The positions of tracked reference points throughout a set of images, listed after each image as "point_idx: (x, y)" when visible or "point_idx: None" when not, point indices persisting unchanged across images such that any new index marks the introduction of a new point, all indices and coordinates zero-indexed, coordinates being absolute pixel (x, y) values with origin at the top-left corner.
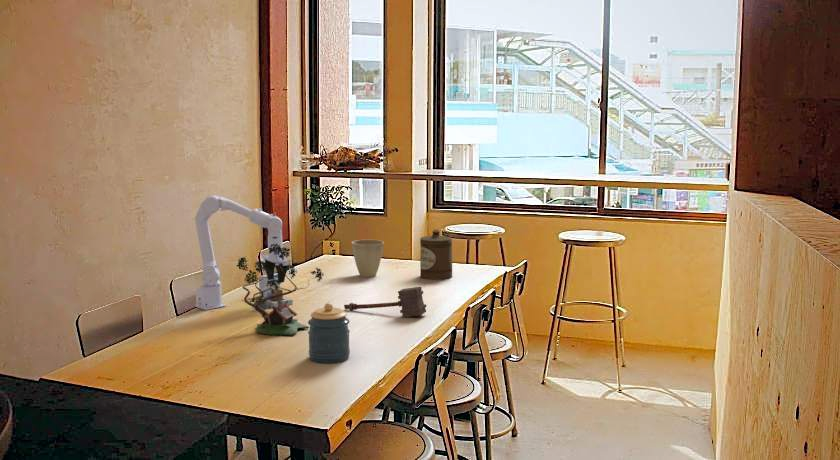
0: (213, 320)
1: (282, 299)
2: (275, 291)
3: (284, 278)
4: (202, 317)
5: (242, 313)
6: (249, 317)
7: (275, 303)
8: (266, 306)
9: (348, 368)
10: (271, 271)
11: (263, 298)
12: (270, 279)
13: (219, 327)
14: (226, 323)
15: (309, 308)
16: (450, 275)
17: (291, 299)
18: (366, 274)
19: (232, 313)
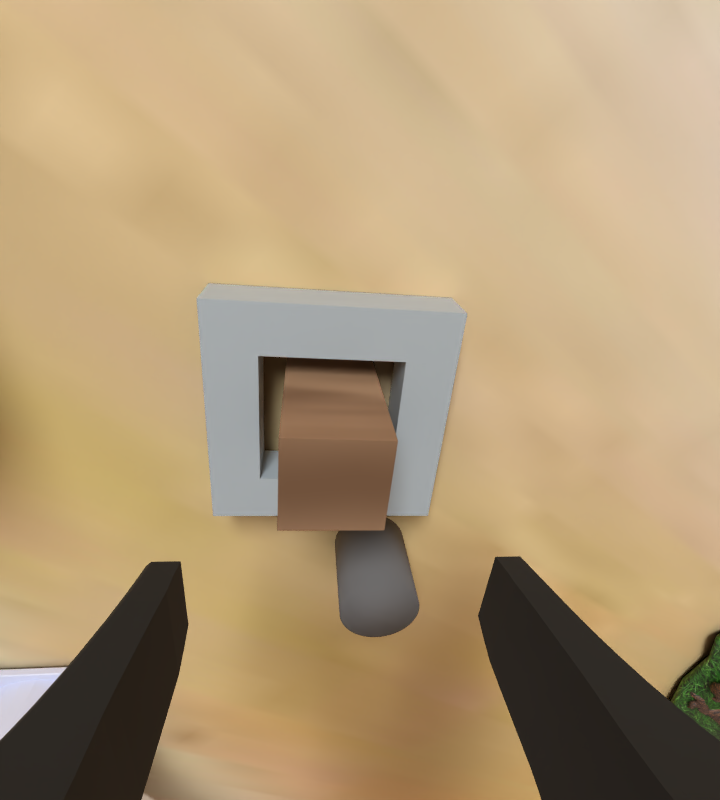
0: (377, 778)
1: (378, 385)
2: (383, 525)
3: (561, 606)
4: (283, 790)
5: (368, 664)
6: (479, 673)
7: (430, 494)
8: (405, 550)
9: None
10: (124, 750)
11: (369, 600)
12: (185, 606)
13: (501, 791)
14: (474, 762)
15: (694, 282)
16: None
17: (450, 313)
18: None
19: (322, 694)
